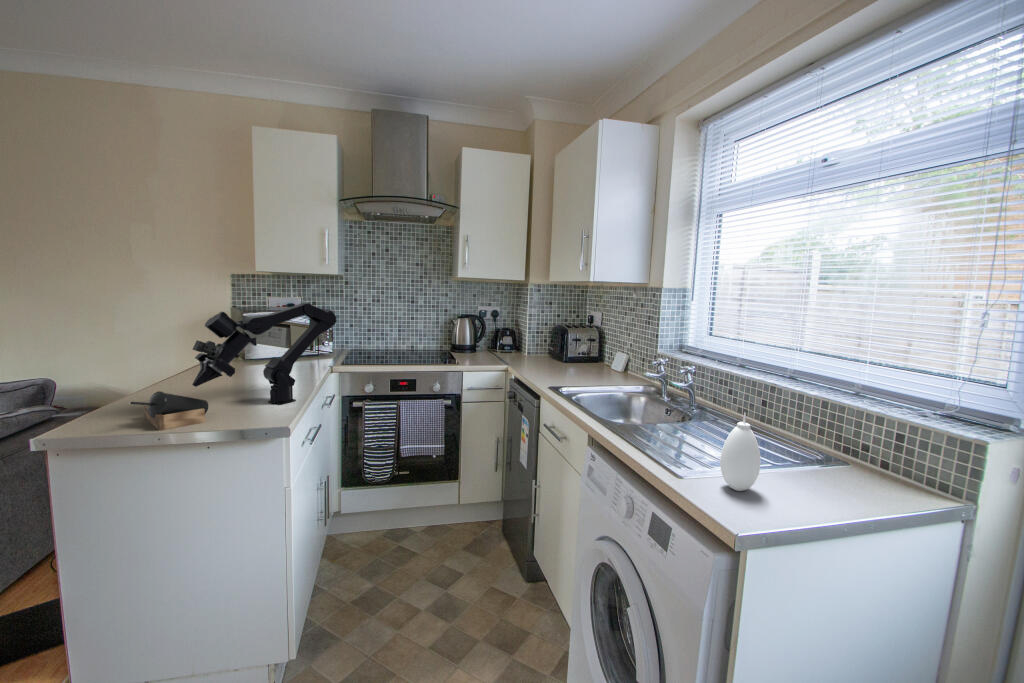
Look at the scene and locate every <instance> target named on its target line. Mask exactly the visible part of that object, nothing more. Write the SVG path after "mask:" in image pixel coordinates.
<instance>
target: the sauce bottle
mask: <svg viewBox="0 0 1024 683" xmlns="http://www.w3.org/2000/svg"><path fill="white" fill-rule="evenodd" d="M746 413H747V412H746V411H744V413H743V418H742V421H739V422H737V423H736V426H735V427H734V428H733V429H732V430H731V431H730V432H729V434H728V436H727V438H726V439H725V441H724V443H723V447H722V449H721V453H720V460H719V464H720V465H719V466H720V471H721V475H722V478H723V480H724V482H725V483H726V484H727V485H728V486H729V488H731V489H732V490H734V491H737V492H741V491H746V490H747V489H749V488H751V487H752V486H753V485H755V483H756V481H757V480H758V477H759V475H760V471H761V464H762V463H761V459H762V458H761V453H760V452H761V451H760V447H759V443H758V441H757V438H756V435H755V434H754V432H753V430H752V428H751V424H750V423H748V422H746V418H747V414H746Z"/></svg>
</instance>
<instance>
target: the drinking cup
mask: <svg viewBox="0 0 1024 683" xmlns="http://www.w3.org/2000/svg"><path fill="white" fill-rule="evenodd" d="M130 405H141V406H148V413H149V415H150V416H151V417H152V418H155V414H157V415H166V414H172V413H178V412H184V411H191V410H197V409H203V408H204V409H205V415H206V414H207V412H208V411H209V402H208V401H207V400H205V399H199V398H195V397H189V396H183V395H178V394H172V393H167V392H163V391H161V390H158V391H155V392H154V393H153V394H152V395H151V397H150V398H149V400H148V402H143V401H130Z"/></svg>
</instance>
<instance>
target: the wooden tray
mask: <svg viewBox="0 0 1024 683" xmlns="http://www.w3.org/2000/svg"><path fill="white" fill-rule="evenodd" d="M143 406H144V407H143V408H144V419H145V420H146V421H147V420H148V421H149V422H150V424H151V425H152V424H153V425H154V426H155V427H154V426H153V425H152V426H153V427H154V428H156V429H157V428H158V429H159V430H160V431H164V430H163V429H165V430H170V428H171V429H176V428H180V427H186V426H192V425H197V424H203V423H206V414H205V409H204V408H203V409H197V410H191V411H184V412H178V413H172V414H166V415H157V414H155V418H152V417H151V416H150V415H149V413H148V405H143ZM148 421H147V422H148ZM149 422H148V423H149ZM158 429H157V430H158ZM159 430H158V431H159Z"/></svg>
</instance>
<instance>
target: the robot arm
mask: <svg viewBox="0 0 1024 683" xmlns="http://www.w3.org/2000/svg"><path fill="white" fill-rule="evenodd" d="M303 316H306V317H307V318H308V319H310V321H309V325H308V327H307V329H306V330H304V332H303V333H302V334H301V335H300V336H299V337H298V338H297V339H296V341H295V342H294V343H293V344H292V345H291V346H290V347H289V348H288V349H287V350H286V352H284V353H283V355H281V356H280V357H278V358H277V357H275V356H274V357H271V359H270V360H269V361H268V363H267V364H265V365H264V369H263V371H262V372H263V377H264V379H266V380H267V381H268V382H269V384H270V390H269V397H270V398H269V400H268V403H270V402H272V403H271V404H275V403H277V404H276V405H284V404H283V403H285V404H288V403H287V402H289V403H293V402H295V401H297V399H294V395H293V390H294V389H293V386H294V385H295V383H296V379H295V378H293V377H292V376H291V375H290V374H291V373H292V370H293V368H294V364H295V363H296V362H297V360H299V358H300V357H301V356H303V354H304V353H305V352H306V351H307V349H308V348H309V347H310V346H311V345H312V344H313V343H314V342H315V340H317V338H318V337H319V336H320V335H321V334H323V333H325V332H326V331H328V330H330V329H331V328H332V327H334V326H335V325H336V323H337V316H336V314H335V313H334V312H333V311H327V310H323V309H322V308H319V307H316V306H314V305H313V304H311V303H308V302H300V303H299V304H296V305H293V306H290V307H287V308H284V309H281V310H277V311H273V312H271V313H268V314H258V315H250V316H245V317H244V318H243V319H242V320H238V321H237V320H236V321H234V320H233V319H232V317H230V316H229V315H228V314H227V313H226V312H225V311H220V312H218V313H217V314H215V315H213V316H212V317H209V319H207V320H206V321H205V324H204V327H205V328H207V329H208V330H209V331H210V332H212V334H214V335H215V336H217V337H218V338H219V339H222V338H225V341H223V342H222V343H217V344H216V342H214V341H211V340H207V341H205V342H204V341H201V340H198V339H197V340H196V341H195V343H194V345H193V348H192V350H193V351H195V352H200V353H198V354H196V356H195V357H194V359H195V360H197V361H199V366H200V370H199V371H198V373H197V375H196V377H194V378H195V379H193V382H192V386H193V387H195V388H197V387H198V386H200V385H203V384H206V383H208V382H210V381H212V380H214V379H217V378H219V377H223V374H222V373H224V374H225V375H226V376H227V377H229V378H232V377H233V376H234V375H235V373H236V368H235V367H233V366H232V365H231V363H232V362H233V360H234V359H239V357H240V353H241V352H242V351H243V350H245V348H246V347H247V346H248V345H249V344H250V346H255V347H257V345H258V343H257V338H256V337H254V336H250V335H249V334H252V335H255V336H256V335H257V336H258V335H261V334H263V333H265V332H267V331H270V329H272V328H273V327H275V326H276V325H279V324H283V323H285V322H288V321H291V320H294V319H297V318H299V317H303ZM240 330H243V332H241V331H240ZM292 401H293V402H292Z"/></svg>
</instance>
